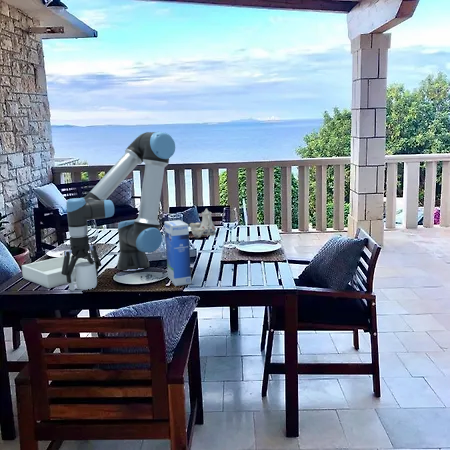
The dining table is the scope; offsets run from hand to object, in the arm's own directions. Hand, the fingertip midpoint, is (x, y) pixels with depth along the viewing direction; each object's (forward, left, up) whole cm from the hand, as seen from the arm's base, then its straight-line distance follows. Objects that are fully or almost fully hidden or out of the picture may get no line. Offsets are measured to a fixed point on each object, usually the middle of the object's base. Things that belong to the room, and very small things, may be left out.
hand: (83, 286), depth 209 cm
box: (+23, -2, 0) cm, 23 cm away
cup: (0, +1, 0) cm, 1 cm away
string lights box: (-26, -31, -1) cm, 40 cm away
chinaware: (+36, -105, -1) cm, 111 cm away
